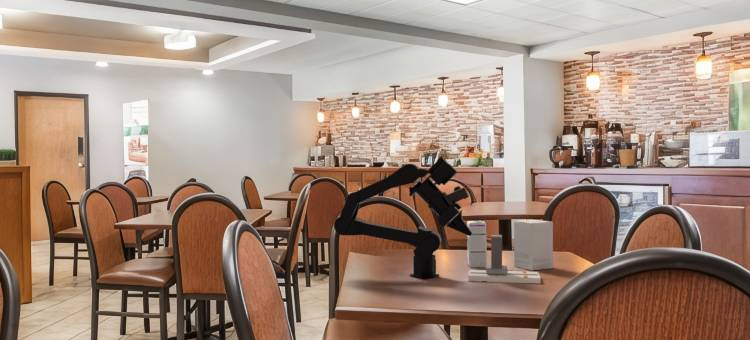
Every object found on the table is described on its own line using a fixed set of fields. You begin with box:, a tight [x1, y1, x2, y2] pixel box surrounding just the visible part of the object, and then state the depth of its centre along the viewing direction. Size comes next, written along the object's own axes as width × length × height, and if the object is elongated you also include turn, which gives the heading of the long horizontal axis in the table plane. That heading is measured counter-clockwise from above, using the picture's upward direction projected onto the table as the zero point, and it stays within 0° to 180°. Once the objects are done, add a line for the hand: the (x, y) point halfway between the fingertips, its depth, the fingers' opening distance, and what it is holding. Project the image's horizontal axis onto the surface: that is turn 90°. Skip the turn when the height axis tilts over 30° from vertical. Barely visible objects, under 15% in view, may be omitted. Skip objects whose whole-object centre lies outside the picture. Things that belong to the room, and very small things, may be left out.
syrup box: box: [466, 220, 488, 268], centre depth 193 cm, size 6×6×14 cm
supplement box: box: [513, 219, 554, 271], centre depth 190 cm, size 9×9×15 cm
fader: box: [485, 234, 508, 274], centre depth 172 cm, size 6×6×11 cm
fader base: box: [467, 269, 542, 284], centre depth 172 cm, size 20×9×2 cm, turn 79°
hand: (470, 234), depth 173 cm, fingers closed
